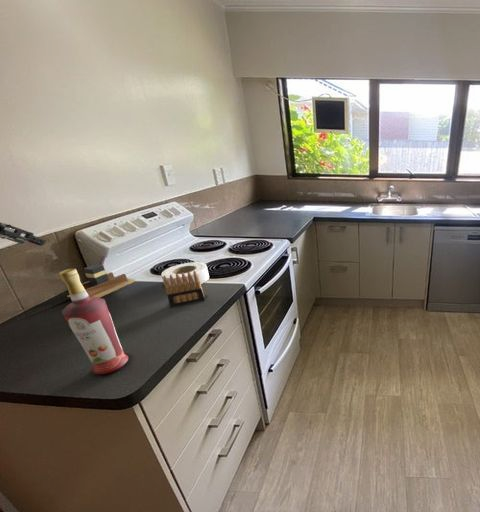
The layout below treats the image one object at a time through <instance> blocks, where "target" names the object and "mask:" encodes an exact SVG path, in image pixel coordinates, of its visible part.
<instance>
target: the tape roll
mask: <svg viewBox="0 0 480 512" xmlns="http://www.w3.org/2000/svg"><path fill="white" fill-rule="evenodd" d="M194 271H195V272H196V273H197V275H198V278H199V280H200V283H201V285H203V284H204V283H206V282H208V281H209V279H210V274H209V269H208V266H207V263H204V262H201V261H199V262H198V261H192V262H184V263H180V264H176V265H173V266H170V267H168V268H166V269H164V270H163V271H162V272H161V274H160V275H161V279H162V282H163V285H164V286H165V284H164V279H163V277H164V276H166V278H167V279H168V282H169V284H170V286H171V282H170V275H172V276H173V278H174V280H175V283H176V285H177V280H176V274H178V275H179V277H180V279H181V282H182V284H183V279H182V273H184V274H185V276H186V279H187V281H188V283H189V279H188V272H190V274H191V276H192V278H193V281H194V283H195V280H194V274H193V272H194ZM183 286H184V285H183ZM189 286H190V285H189ZM195 286H196V285H195ZM177 287H178V286H177ZM171 289H172V287H171ZM178 290H179V289H178Z"/></svg>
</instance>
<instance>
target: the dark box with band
mask: <svg viewBox="0 0 480 512" xmlns="http://www.w3.org/2000/svg"><path fill="white" fill-rule="evenodd" d="M83 271H84V274H85V276H86V278H87V281H89V282H90V285H91V287H93V286H95V285H98V284H100V283H103V282H105V281H107V280H109V278H108V276H107V274H108V273H107V271H106V269H105V267H104V265H103V264H96V263H95V264H92V265H89V266H86V267H84V268H83Z"/></svg>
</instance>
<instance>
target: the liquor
mask: <svg viewBox="0 0 480 512" xmlns="http://www.w3.org/2000/svg"><path fill="white" fill-rule="evenodd" d="M58 274H59V276H60V278H61V280H62V281H63V283H64V284H65V285H66V287H67V290H68V294H69V295H70V297H69V298H71V299H70V300H71V302H70V303H69V304H68V305H66V306H65V307H64V308H63V310H62V311H61V314H62V316H63V317H64V320H65V321H66V323H67V324H68V326H69V328H70V330H71V331H72V333H73V334H74V336H75V338H76V339H77V340H78V342H79V344H80V345H81V347H82V349H83V350H84V352H85V354H86V355H87V357H88V359H89V360H90V363H91V364H92V366H93V369H92V372H93V373H94V374H97V375H110V374H113V373H115V372H117V371H119V370H120V369H122V368H123V367H124V366H125V364H126V363H127V362H128V361H129V355H127V354H125V352H124V349H123V347H122V345H121V342H120V339H119V337H118V334H117V331H116V328H115V324H114V321H113V319H112V315H111V312H110V311H109V308H108V305H107V302H106V299H105V298H102V297H100V298H97V297H89V295H88V293H87V292H86V290H85V289H84V287H83V285H82V282H81V278H80V274H79V273H78V270H77V268H68V269H67V268H66V269H64V270H61V271H59V272H58Z"/></svg>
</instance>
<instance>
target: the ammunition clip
mask: <svg viewBox="0 0 480 512" xmlns="http://www.w3.org/2000/svg"><path fill="white" fill-rule="evenodd" d="M193 274H194V280H195V283H194V281H193V278H192V276H191V274H190V272H188V279H189V283H188V281H187V279H186V276H185V274H184V273H182V279H183V284H182V282H181V279H180V277H179V275H178V274H176V280H177V285H176V283H175V280H174V278H173V276H172V275H170V282H171V286H170V284H169V282H168V279H167V278H166V276H164V277H163V279H164V282H163V285H164V284H165V285H164V289H165V291H166V296H167V299H168V304H169V308H176V307H182V306H184V305H185V306H186V305H190V304H195V303H199V302H200V303H201V302H204V301H206V295H205V293H204V290H203V287H202V284H201V283H200V280H199V278H198V275H197V273H196V272H195V271H194V272H193ZM163 279H162V280H163ZM183 285H184V286H183ZM189 285H190V286H189ZM195 285H196V286H195ZM177 286H178V287H177ZM171 287H172V289H171ZM178 289H179V290H178Z"/></svg>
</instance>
